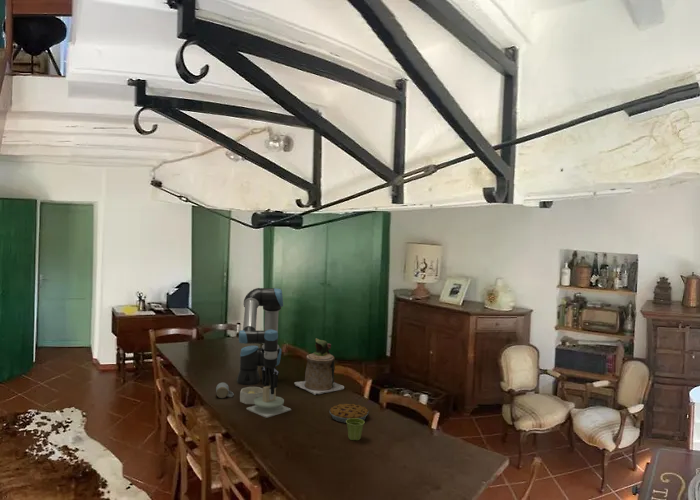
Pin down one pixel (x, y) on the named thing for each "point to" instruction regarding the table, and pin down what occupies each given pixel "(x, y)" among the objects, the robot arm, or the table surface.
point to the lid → (265, 401)
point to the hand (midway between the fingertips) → (269, 398)
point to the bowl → (250, 394)
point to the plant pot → (354, 428)
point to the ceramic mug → (223, 390)
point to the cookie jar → (320, 371)
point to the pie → (348, 412)
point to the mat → (268, 410)
